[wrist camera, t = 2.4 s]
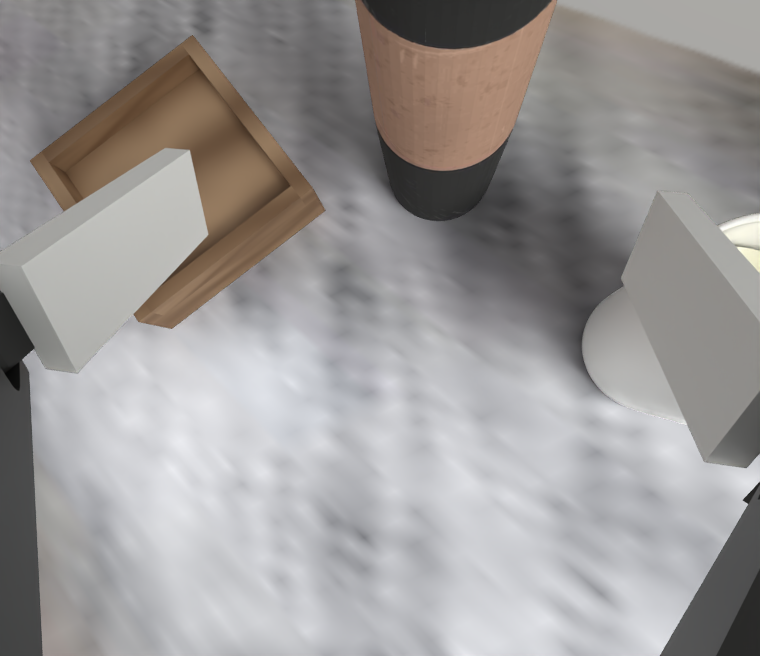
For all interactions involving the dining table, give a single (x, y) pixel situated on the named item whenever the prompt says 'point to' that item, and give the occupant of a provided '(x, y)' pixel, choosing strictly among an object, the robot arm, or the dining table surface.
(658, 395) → the candle holder
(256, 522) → the dining table surface
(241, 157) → the tray
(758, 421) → the robot arm
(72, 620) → the dining table surface
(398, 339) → the dining table surface
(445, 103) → the travel mug
